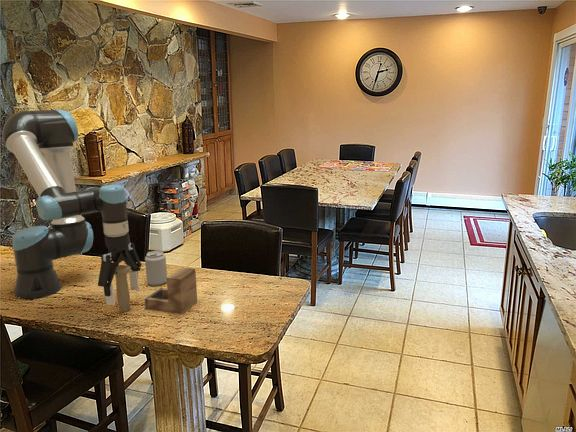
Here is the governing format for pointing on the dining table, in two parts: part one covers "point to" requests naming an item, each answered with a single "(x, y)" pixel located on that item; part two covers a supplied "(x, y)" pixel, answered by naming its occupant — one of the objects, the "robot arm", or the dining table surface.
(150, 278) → the can
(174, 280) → the wooden stand
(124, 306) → the handle
